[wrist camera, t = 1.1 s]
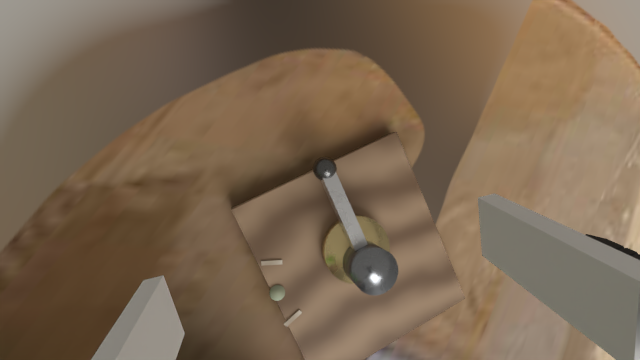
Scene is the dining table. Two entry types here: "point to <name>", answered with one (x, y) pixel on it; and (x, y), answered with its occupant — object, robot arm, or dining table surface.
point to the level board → (317, 280)
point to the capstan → (354, 240)
